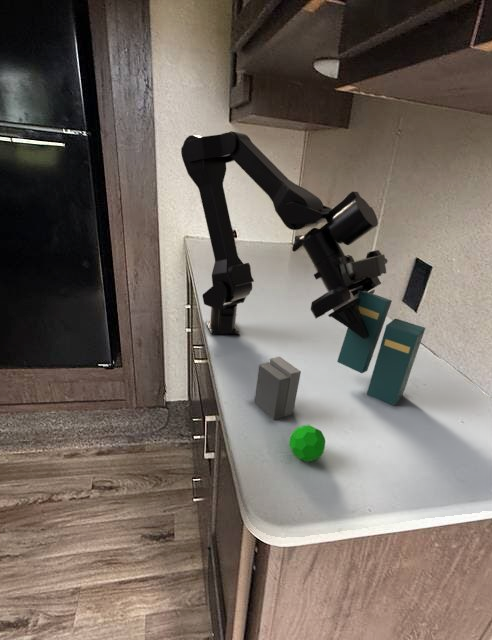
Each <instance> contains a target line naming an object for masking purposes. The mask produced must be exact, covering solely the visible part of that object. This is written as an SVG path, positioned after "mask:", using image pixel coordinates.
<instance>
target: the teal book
mask: <svg viewBox="0 0 492 640" xmlns="http://www.w3.org/2000/svg"><path fill="white" fill-rule="evenodd" d="M369 292H370V291H368V292H366V291H360V292H359V294H358V297H360V296H361V299H360V304H359V311H360V313H361V316H362V318H363V321H364V323H365V325H366V328H367V331H368V334H369V337H368V338H366V339H363V338H362V337H360V336H359V335H357V334H356V333H355V332H353V331H352V330H351V329H349V328H348V327H347V328H346V331H345V335H344V339H343V342H342V345H341V348H340V351H339V354H338V357H337V360H336V362H337V363H338V364H341V365H343V366H345V367H347V368H349V369H350V370H351V369H352V371H355V372H358V373H360V374H364V373H366V372H368V370H369V367H370V365H371V361H372V359H373V356H374V353H375V349H376V347H377V344H378V342H379V339H380V336H381V333H382V330H383V327H384V325H385V321H386V318H387V316H388V314H389V310H390V308H391V305H392V302H393V301H392V300H391V299H389V298H386V297H384V296H380V295H377V294H374V293H373V294H372V293H369ZM358 297H357V298H358Z"/></svg>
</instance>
